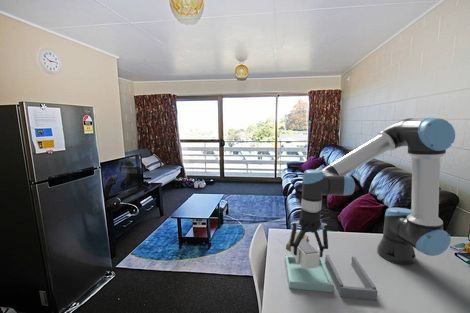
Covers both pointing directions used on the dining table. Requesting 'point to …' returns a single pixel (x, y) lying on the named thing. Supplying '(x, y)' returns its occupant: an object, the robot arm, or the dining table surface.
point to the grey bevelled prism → (307, 255)
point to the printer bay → (353, 292)
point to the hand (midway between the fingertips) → (307, 262)
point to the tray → (308, 276)
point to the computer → (295, 239)
